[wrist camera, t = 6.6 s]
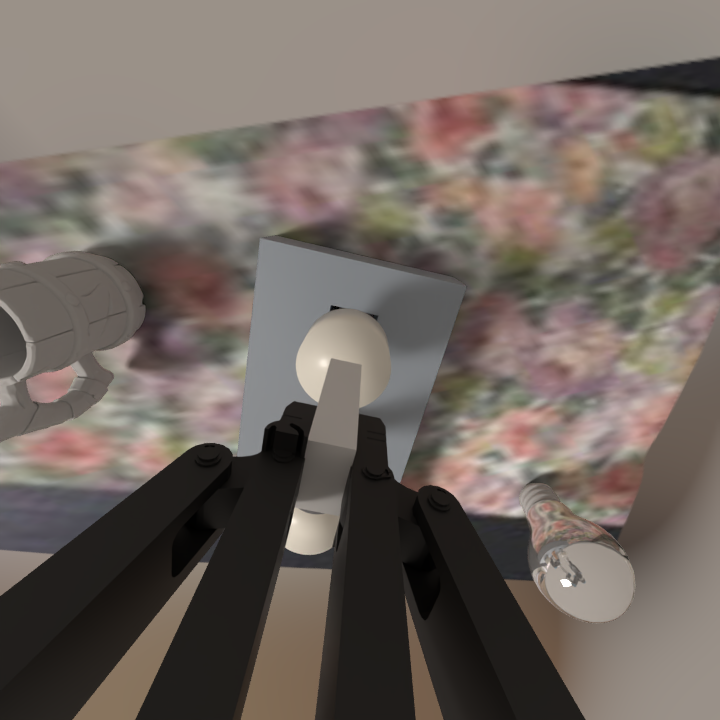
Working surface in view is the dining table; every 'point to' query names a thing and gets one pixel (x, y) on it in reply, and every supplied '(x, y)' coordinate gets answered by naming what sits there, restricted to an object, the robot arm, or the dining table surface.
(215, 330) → the dining table surface
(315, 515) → the knob
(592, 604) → the light bulb
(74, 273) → the mug
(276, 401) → the panel
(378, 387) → the knob
